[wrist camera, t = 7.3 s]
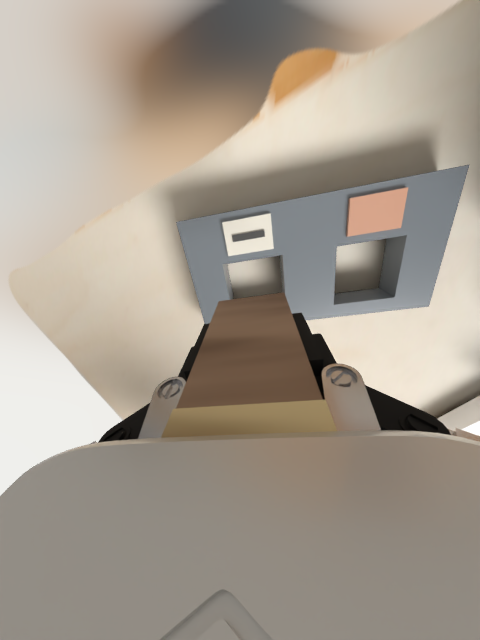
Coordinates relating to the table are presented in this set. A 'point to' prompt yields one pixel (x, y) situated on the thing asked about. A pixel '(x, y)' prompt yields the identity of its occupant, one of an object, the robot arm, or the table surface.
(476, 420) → the bracket
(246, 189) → the table surface
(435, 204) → the socket block
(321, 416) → the plug
